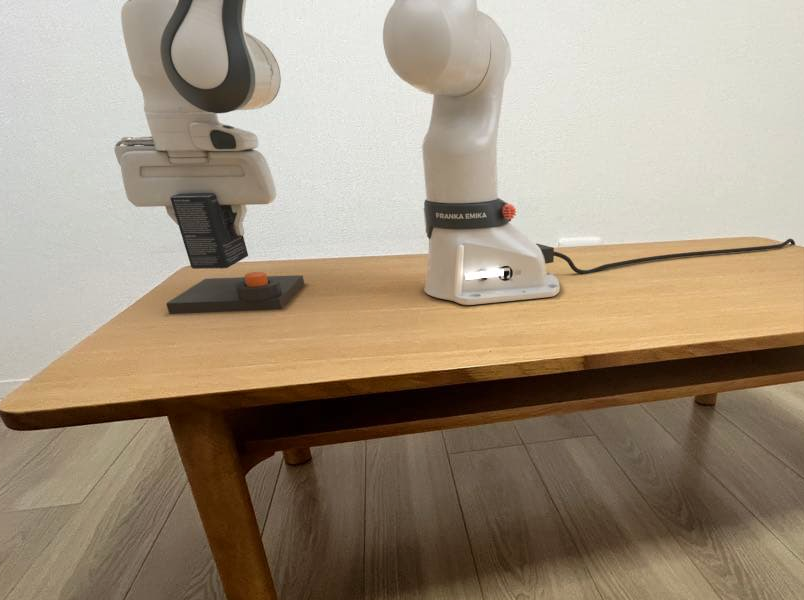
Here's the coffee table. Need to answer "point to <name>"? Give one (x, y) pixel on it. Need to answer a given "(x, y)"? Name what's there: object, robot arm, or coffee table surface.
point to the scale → (236, 295)
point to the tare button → (256, 279)
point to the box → (207, 231)
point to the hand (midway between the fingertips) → (214, 236)
